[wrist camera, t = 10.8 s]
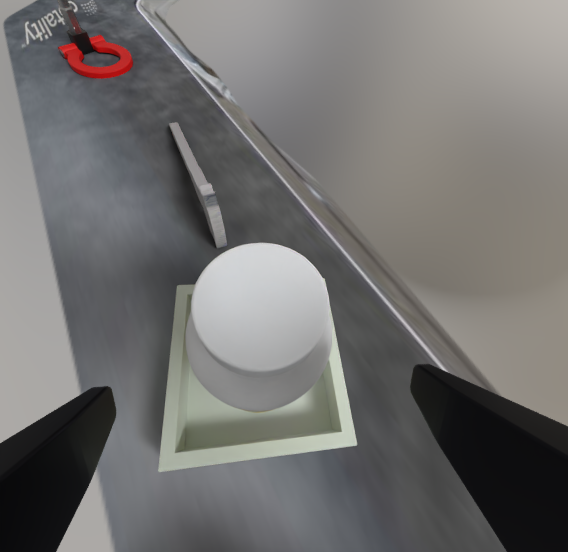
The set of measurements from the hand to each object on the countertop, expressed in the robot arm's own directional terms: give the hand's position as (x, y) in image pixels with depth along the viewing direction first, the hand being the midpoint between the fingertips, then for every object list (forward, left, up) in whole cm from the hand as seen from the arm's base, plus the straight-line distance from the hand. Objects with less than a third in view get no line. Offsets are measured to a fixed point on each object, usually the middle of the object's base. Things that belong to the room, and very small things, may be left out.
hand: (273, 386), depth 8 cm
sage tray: (+3, 0, -13) cm, 13 cm away
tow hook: (+48, +21, -13) cm, 55 cm away
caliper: (+24, +6, -14) cm, 28 cm away
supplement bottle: (+3, 0, -13) cm, 13 cm away
